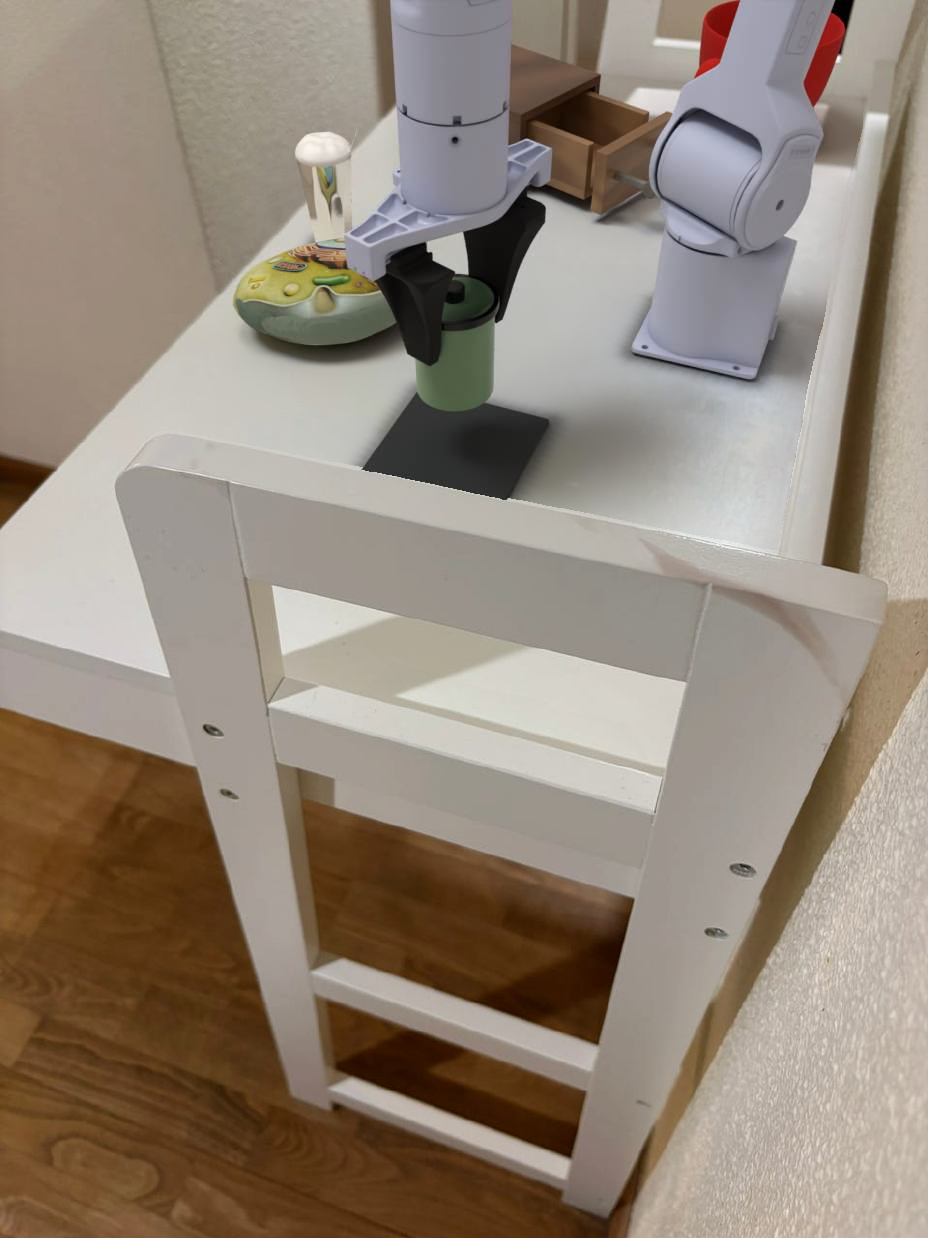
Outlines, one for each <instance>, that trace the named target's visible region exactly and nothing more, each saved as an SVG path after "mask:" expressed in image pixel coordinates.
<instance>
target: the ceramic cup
mask: <svg viewBox="0 0 928 1238" xmlns="http://www.w3.org/2000/svg"><path fill="white" fill-rule="evenodd" d="M739 3H740V0H731V1H726V2H723V3H720V4H718V5H715V6H714V7H712V8H711V9H709V10H708V11H707V12H706V14H705V16H704V17H703V20H702V21H703V22H702V29H701V35H700V44H699V45H700V46H699V58H698V59H699V60H698V68H697V71H696V73H695V75H694V78H693V79H695V78H697V77H699V76H700V75H702V74H704V73H706V72H707V71H709V70H711V69H713V68H714V67H716V66H717V65H718V64H719V63H720V61H721V58H722V55H723V52H724V49H725V46H726V43H727V40H728V37H729V34H730V31H731V28H732V25H733V21H734V18H735V15H736V12H737V9H738V6H739ZM845 34H846V27H845V24H844V22H843V21H842V19H841V18H840V17H839V16H837V15H836V14H834V13H832V11H831V12H830V15H829V17H828V20H827V23H826V25H825V28H824V30H823V33H822V36H821V38H820V41H819V43H818V46H817V48H816V51H815V54H814V56H813V59H812V61H811V64H810V67H809V69H808V72H807V74H806V77H805V80H804V88H805V91H806V94H807V96H808V98H809V100H810V102H811V105H812V107H813V109H814V108H815V107H816V105H817V104H818V102H819V101H820V98H821V97H822V96H823V93H824V92H825V90H826V88H827V85H828V83H829V81H830V78H831V76H832V73H833V71H834V68H835V65H836V62H837V60H838V57H839V54H840V50H841V47H842V45H843V41H844V37H845Z"/></svg>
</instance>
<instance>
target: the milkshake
mask: <svg viewBox="0 0 928 1238" xmlns="http://www.w3.org/2000/svg"><path fill="white" fill-rule="evenodd" d="M358 131H359V127H356V130H355V132H354V136H353V139H352V143H351V144H350V143H349V142H348V140H347V139H345V138H344V137H343V136H341V135H339V134H337V133H334V132H332V131H322V132H321V131H319V132H312V133H311V132H310V133H307V134H306V135H304V136H303V137H302V138H301V139H300V140H299V142H298V143H297V145H296V147H295V150H294V156H295V160H296V165H297V168H298V172H299V176H300V180H301V185H302V188H303V191H304V196H305V200H306V204H307V209H308V213H309V219H310V223H311V228H312V232H313V233H312V234H313V237H314V241H315V242H320V241H326V240H332V239H339V238H344V234H345V233H347V232H348V231H350V230H352V229H353V217H352V216H353V215H352V214H353V213H352V209H353V208H352V149H353V145H354V143H355V140H356V136H357V133H358ZM315 242H314V243H315Z"/></svg>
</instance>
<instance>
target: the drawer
mask: <svg viewBox="0 0 928 1238" xmlns="http://www.w3.org/2000/svg"><path fill="white" fill-rule="evenodd" d="M672 114H673V112H670V111H665V112H663V113H661V114H659V115H657V116H656V117H654V118H652V119H651V120H650V111H648V110H646V109H644V108H640V107H638V106H634V105H631V104H629V103H625V102H623V101H621V100H618V99H614V98H612V97H608V96H606V95H603V94H600V93H599V94H597V93H594V92H592V91H589V90H586V91H584V92H582V93H580V94H578V95H576V96H574V97H572V98H570V99H568V100H566V101H564V102H562V103H560V104H559V105H557V106H555V107H553V108H551V109H549V110H547V111H545V112H543V113H541V114H539V115H537V116H535V117H533V118H531V119H529V120H527V121H526V138H525V139H529V140H532V141H534V142H537V143H539V144H542V145H544V146H547V147H550V148H552V162H551V177H550V181H549V182H548V183H546V184H545V185H547V186H550V187H552V188H554V189H557V190H559V191H562V192H564V193H566V194H569V195H571V196H574V197H576V198H578V199H581V200H586V199H588V198H590V197H591V204H590V212H592V213H595V214H597V215H600V216H602V215H604V214H605V213H608V212H609V211H610V210H612V209H614V208H615V207H617V206H619V205H620V204H621V203H623V202H625V201H627V200H628V199H630V198H632V197H633V196H634V195H636V194H638V193H639V192H641V191H642V194H643V196H644V197H645V199H647V200H654V199H655V198H657V197H658V196H657V195H656V194H655V193H654V192H653V190H652V188H651V186H650V181H649V165H650V159H651V155H652V152H653V149H654V146H655V144H656V142H657V140H658V138H659V136H660V134H661V132H662V131H663V130H664V128H665V126H666V125H667V123H668V122H669V120H670V118H671V116H672Z"/></svg>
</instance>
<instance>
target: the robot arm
mask: <svg viewBox="0 0 928 1238" xmlns="http://www.w3.org/2000/svg"><path fill="white" fill-rule="evenodd" d="M835 1H836V0H740V3H739V6H738V9H737V12H736V15H735V18H734V21H733V25H732V28H731V31H730V34H729V37H728V40H727V43H726V46H725V49H724V52H723V55H722V58H721V61H720V63H719V64H718V65H717V66H716V67H714V68H713V69H711V70H709V71H707V72H706V73H704V74H702V75H700V76H699V77H697V78H695V79H694V78H693V79H692V80H690V81H688V82H687V83H685V84H684V85H682V87H681V89H680V91H679V92H680V93H679V96H678V98H677V102H676V105H675V108H674V110H673V112H672V113H673V114H672V116H671V118H670V120H669V122H668V123H667V125H666V126H665V128H664V130H663V131H662V132H661V134H660V136H659V138H658V140H657V142H656V144H655V146H654V149H653V152H652V155H651V159H650V165H649V181H650V186H651V188H652V190H653V192H654V193H655V194H656V195H657V197H658V198H659V199H660V206H659V210H658V211H659V212H658V215H659V216H660V217H662V218H663V219H664V222H665V223H664V229H663V234H662V240H661V247H660V253H659V258H658V263H657V264H658V265H657V270H656V271H657V272H656V276H655V282H654V288H653V294H652V300H651V305H650V308H649V311H648V312H647V314H646V316H645V317H644V320H643V322H642V324H641V326H640V328H639V330H638V332H637V334H636V336H635V338H634V339H633V342H632V344H631V348H630V349H631V350H630V351H631V352H632V353H634V354H638V355H641V356H642V355H643V356H645V357H651V358H654V359H659V360H663V361H668V362H672V363H675V364H680V365H685V366H690V367H693V368H698V369H703V370H706V371H709V372H710V371H711V372H715V373H719V374H724V375H728V376H733V377H736V378H741V379H745V380H753V379H755V378H756V377H757V374H758V372H759V369H760V365H761V363H762V360H763V357H764V354H765V351H766V348H767V345H768V343H769V340H770V341H773V340H774V337H775V336H776V332H777V329H778V325H779V322H780V319H781V315H779V314H778V311H779V308H780V304H781V301H782V297H783V295H784V290H785V287H786V283H787V280H788V277H789V273H790V271H791V266H792V263H793V260H794V255H795V252H796V249H797V245H798V240H796V239H794V238H791V237H788V236H786V234H787V233H788V232H789V231H790V230H791V228H792V227H793V226H794V225H795V223H796V222H797V220H798V219H799V217H800V216H801V214H802V212H803V210H804V208H805V206H806V204H807V201H808V199H809V195H810V192H811V187H812V178H813V169H814V164H815V160H816V157H817V155H818V151H819V148H820V146H821V144H822V141H823V139H824V136H825V135H824V134H825V133H824V130H823V126H822V124H821V121H820V120H819V118H818V116H817V113H816V111H815V109H814V108H813V107H812V105H811V102H810V100H809V98H808V96H807V94H806V91H805V88H804V80H805V77H806V74H807V72H808V69H809V67H810V64H811V61H812V59H813V56H814V54H815V51H816V48H817V46H818V43H819V41H820V38H821V36H822V33H823V30H824V28H825V25H826V23H827V20H828V17H829V15H830V12H831V13H832V10H833V7H834V4H835ZM389 5H390V6H389V7H390V20H391V22H390V24H391V38H392V40H391V41H392V53H393V55H392V57H393V72H394V89H395V91H394V92H395V103H396V118H397V137H398V153H399V155H398V156H399V167H397V168H395V169H393V170H392V184H393V185H394V186H395V187H394V188H393V190H391V191H390V192H389V194H387V196H386V197H385V198H384V199H383V200H382V201H381V202H380V203H379V204H378V205H377V206H376V207H375V209H373V211H372V212H371V213H370V214H369V215H368V216H367V217H366V218H365V219H364V220H363V221H362V222H360V223H359V224H358V225H356V226H355V227H352V230H350V231H348V232H347V233H345V234H344V239H345V248H346V257H347V266H348V268H349V269H351V270H353V271H355V272H356V273H358V274H360V275H362V276H364V277H366V278H368V279H370V280H372V281H375V282H376V284H377V285H378V287H379V289H380V290H381V292H382V294H383V295H384V297H385V299H386V301H387V303H388V304H389V306H390V309H391V311H392V313H393V315H394V317H395V320H396V323H395V324H396V325H397V328H398V330H399V333H400V336H401V339H402V343H403V344H404V348H405V351H406V354H407V355H408V356H410V357H412V358H413V359H414V360H415V359H417V360H419V361H420V362H422V363H424V364H426V365H428V366H432V365H433V364H435V363H437V362H438V360H439V356H440V351H441V331H442V314H443V308H444V303H445V299H446V295H447V292H448V289H449V286H450V283H451V281H452V279H453V276H454V274H456V271H454V270H453V269H452V268H449V267H447V266H445V265H444V264H441V263H439V262H437V261H435V260H434V254H433V252H432V251H428V242H430V241H434V240H438V239H442V238H446V237H449V236H452V235H457V234H461V233H462V234H463V240H464V245H465V251H466V258H467V275H472V276H476V277H479V278H481V279H483V280H486V281H487V282H489V283H490V284H491V285H493V286H494V287H495V289H496V290H497V292H498V294H499V309H498V312H497V314H496V315H495V324H498V323H499V322H501V321H503V319H504V317H505V314H506V311H507V308H508V305H509V302H510V299H511V295H512V291H513V288H514V285H515V283H516V280H517V276H518V274H519V271H520V268H521V266H522V264H523V261H524V259H525V257H526V255H527V252H528V251H529V249H530V247H531V245H532V243H533V241H534V240H535V238H536V237H537V235H538V233H539V232H540V231H541V229H542V227H543V226H544V225H545V224H546V214H547V206H546V205H545V204H544V203H543V202H541V201H539V200H538V199H535V198H533V197H529V196H528V189H529V188H528V185H530V184H532V185H534V187H537V188H540V187H542V186H545V185H547V184H546V183H548V182H549V181H550V177H551V162H552V148H550V147H547V146H544V145H542V144H539V143H537V142H534V141H532V140H529V139H524V140H522V141H520V142H518V143H515V144H513V145H510V146H508V135H509V98H510V65H511V44H512V30H513V29H512V27H513V0H389Z"/></svg>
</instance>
